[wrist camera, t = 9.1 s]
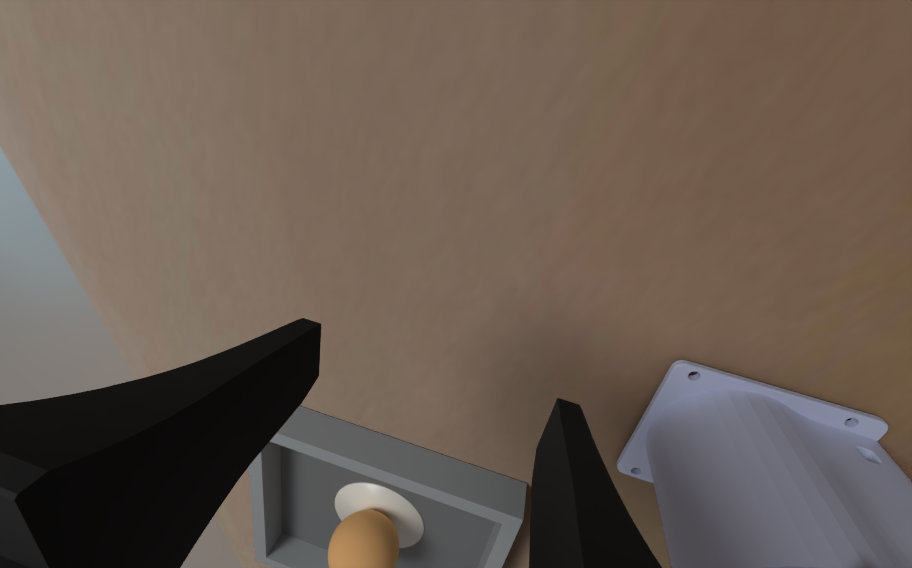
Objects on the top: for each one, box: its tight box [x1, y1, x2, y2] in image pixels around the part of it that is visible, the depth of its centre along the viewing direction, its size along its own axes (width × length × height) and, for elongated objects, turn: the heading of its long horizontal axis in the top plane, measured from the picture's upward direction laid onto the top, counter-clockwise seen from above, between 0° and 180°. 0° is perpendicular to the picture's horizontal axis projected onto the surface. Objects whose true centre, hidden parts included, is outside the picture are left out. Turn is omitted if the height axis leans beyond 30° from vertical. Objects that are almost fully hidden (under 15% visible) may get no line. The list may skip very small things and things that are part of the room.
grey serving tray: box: [249, 406, 527, 568], centre depth 30 cm, size 18×16×2 cm
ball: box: [328, 510, 399, 568], centre depth 29 cm, size 5×5×5 cm
